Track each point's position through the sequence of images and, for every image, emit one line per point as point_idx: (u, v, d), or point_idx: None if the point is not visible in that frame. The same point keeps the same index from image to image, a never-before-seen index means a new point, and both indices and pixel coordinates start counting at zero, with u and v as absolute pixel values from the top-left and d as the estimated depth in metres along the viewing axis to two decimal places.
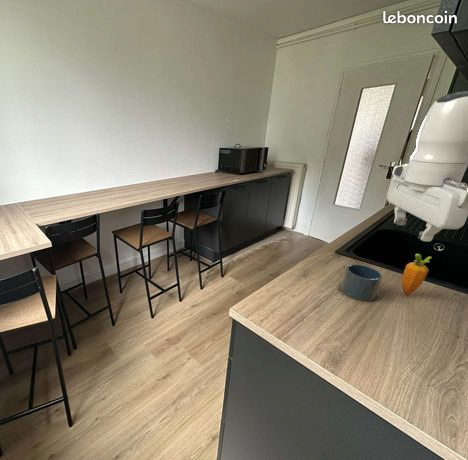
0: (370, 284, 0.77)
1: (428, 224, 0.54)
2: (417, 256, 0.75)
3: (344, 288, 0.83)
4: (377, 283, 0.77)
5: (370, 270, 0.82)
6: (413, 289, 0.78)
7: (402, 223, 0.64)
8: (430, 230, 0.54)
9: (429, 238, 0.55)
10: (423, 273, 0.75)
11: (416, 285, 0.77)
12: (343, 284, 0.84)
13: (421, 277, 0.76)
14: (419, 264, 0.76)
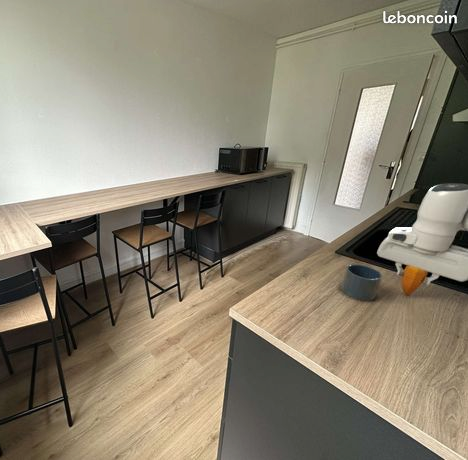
0: (370, 284, 0.77)
1: (434, 274, 0.73)
2: None
3: (344, 288, 0.83)
4: (377, 283, 0.77)
5: (370, 270, 0.82)
6: (413, 289, 0.78)
7: None
8: None
9: None
10: (423, 273, 0.75)
11: (416, 285, 0.77)
12: (343, 284, 0.84)
13: (421, 277, 0.76)
14: None
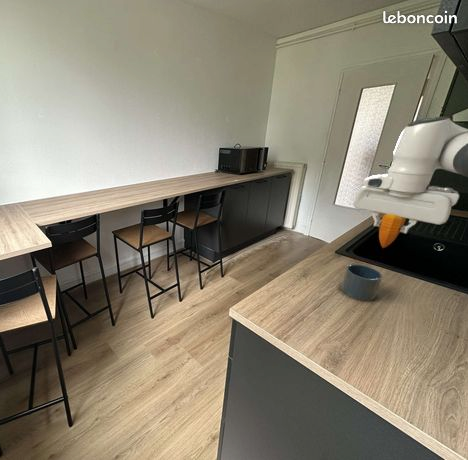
0: (370, 284, 0.77)
1: (411, 220, 0.69)
2: None
3: (344, 288, 0.83)
4: (377, 283, 0.77)
5: (370, 270, 0.82)
6: (390, 240, 0.73)
7: None
8: (413, 224, 0.69)
9: (407, 230, 0.71)
10: (400, 220, 0.70)
11: (393, 235, 0.72)
12: (343, 284, 0.84)
13: (398, 225, 0.71)
14: None
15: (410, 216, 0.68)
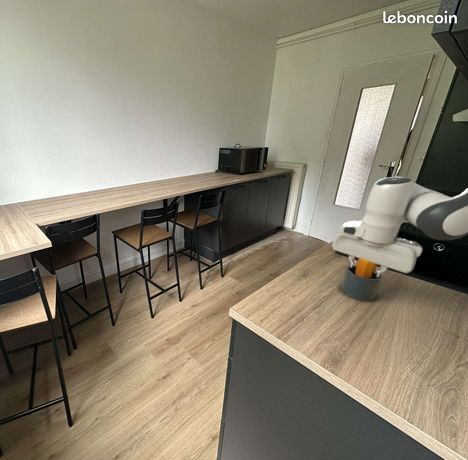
0: (370, 284, 0.77)
1: (383, 266, 0.75)
2: None
3: (344, 288, 0.83)
4: (377, 283, 0.77)
5: None
6: None
7: None
8: (384, 270, 0.75)
9: (380, 274, 0.77)
10: (373, 265, 0.76)
11: (367, 277, 0.79)
12: (343, 284, 0.84)
13: (371, 269, 0.77)
14: None
15: (381, 263, 0.74)
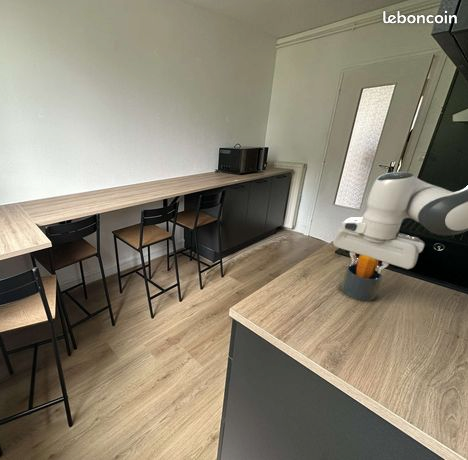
0: (370, 284, 0.77)
1: (384, 263, 0.74)
2: None
3: (344, 288, 0.83)
4: (377, 283, 0.77)
5: None
6: None
7: None
8: (386, 266, 0.75)
9: (381, 270, 0.77)
10: (374, 262, 0.76)
11: (368, 274, 0.78)
12: (343, 284, 0.84)
13: (372, 266, 0.76)
14: None
15: (382, 259, 0.74)
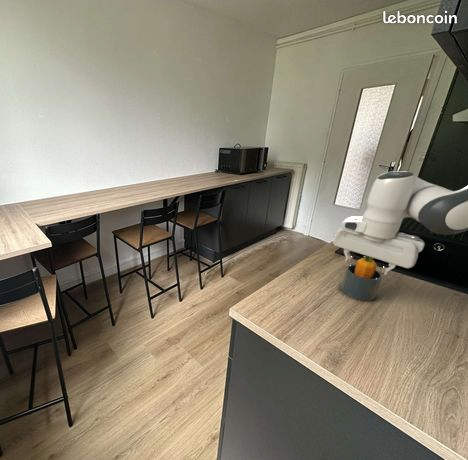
0: (370, 284, 0.77)
1: (391, 264, 0.73)
2: None
3: (344, 288, 0.83)
4: (377, 283, 0.77)
5: None
6: None
7: (351, 260, 0.82)
8: (392, 268, 0.73)
9: (388, 272, 0.75)
10: (372, 268, 0.77)
11: None
12: (343, 284, 0.84)
13: (370, 272, 0.78)
14: (368, 260, 0.78)
15: (382, 258, 0.74)
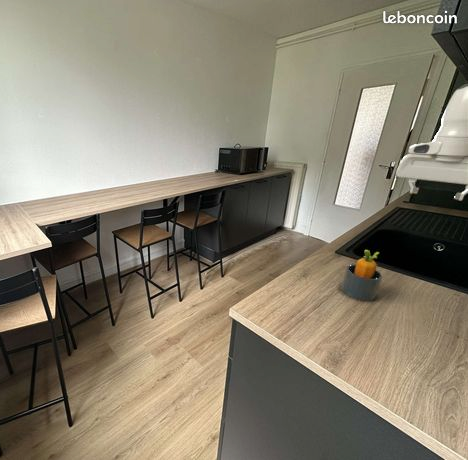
0: (370, 284, 0.77)
1: None
2: (366, 252, 0.77)
3: (344, 288, 0.83)
4: (377, 283, 0.77)
5: None
6: None
7: (416, 192, 0.77)
8: None
9: None
10: (372, 268, 0.77)
11: None
12: (343, 284, 0.84)
13: (370, 272, 0.78)
14: (368, 260, 0.78)
15: (459, 180, 0.68)
